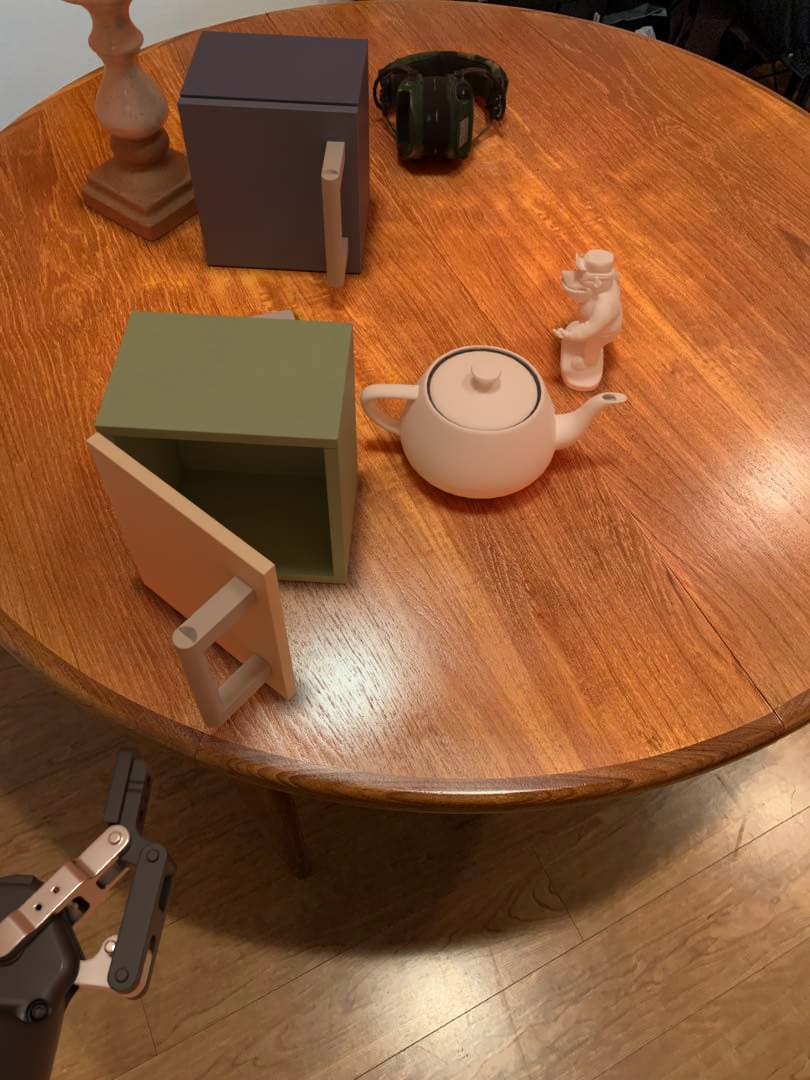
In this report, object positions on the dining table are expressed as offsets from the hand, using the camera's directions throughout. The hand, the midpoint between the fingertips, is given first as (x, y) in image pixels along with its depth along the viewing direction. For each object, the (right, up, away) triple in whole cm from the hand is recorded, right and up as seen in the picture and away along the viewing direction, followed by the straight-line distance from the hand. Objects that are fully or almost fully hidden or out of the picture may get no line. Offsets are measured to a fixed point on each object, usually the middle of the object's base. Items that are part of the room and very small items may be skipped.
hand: (42, 745), depth 44 cm
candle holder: (-11, +48, +59) cm, 77 cm away
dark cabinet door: (+4, +36, +51) cm, 63 cm away
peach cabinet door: (+1, +1, +27) cm, 27 cm away
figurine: (+34, +28, +47) cm, 64 cm away
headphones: (+21, +59, +68) cm, 92 cm away
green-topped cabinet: (+5, +11, +34) cm, 36 cm away
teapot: (+24, +17, +39) cm, 49 cm away
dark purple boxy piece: (+5, +43, +56) cm, 71 cm away
